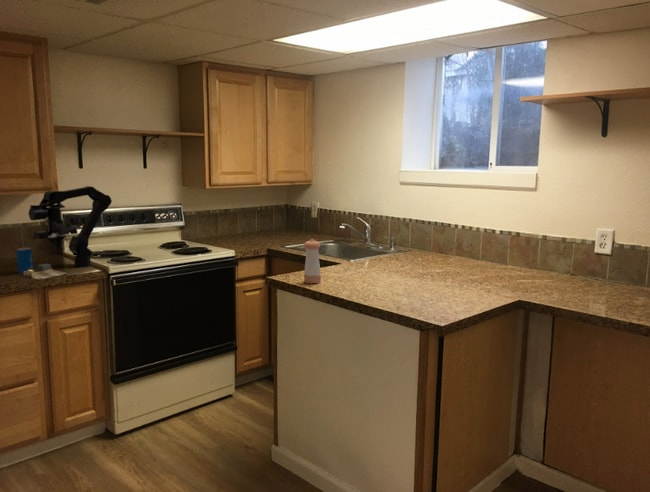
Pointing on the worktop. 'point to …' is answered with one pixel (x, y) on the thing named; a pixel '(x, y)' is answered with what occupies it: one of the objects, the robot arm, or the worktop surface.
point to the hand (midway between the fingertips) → (57, 250)
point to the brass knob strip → (29, 273)
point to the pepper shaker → (312, 262)
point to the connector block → (44, 267)
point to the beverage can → (24, 259)
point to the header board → (44, 273)
